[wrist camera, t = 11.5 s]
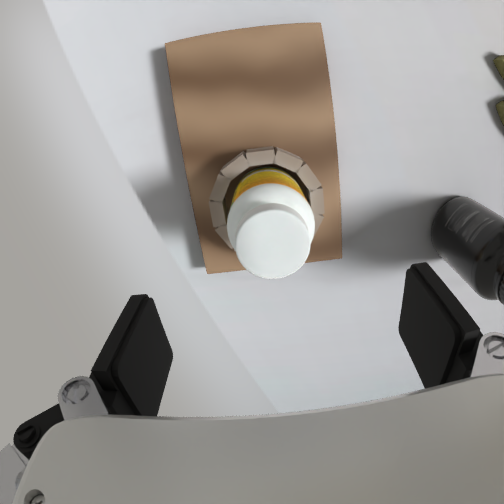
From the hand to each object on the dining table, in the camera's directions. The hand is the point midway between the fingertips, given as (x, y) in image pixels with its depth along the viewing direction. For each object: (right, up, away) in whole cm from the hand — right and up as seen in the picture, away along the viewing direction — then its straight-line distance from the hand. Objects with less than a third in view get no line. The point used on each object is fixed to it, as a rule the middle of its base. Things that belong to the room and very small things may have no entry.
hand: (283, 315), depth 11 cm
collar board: (0, +11, +14) cm, 18 cm away
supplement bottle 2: (+20, +5, +17) cm, 26 cm away
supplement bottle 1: (0, +7, +14) cm, 16 cm away
